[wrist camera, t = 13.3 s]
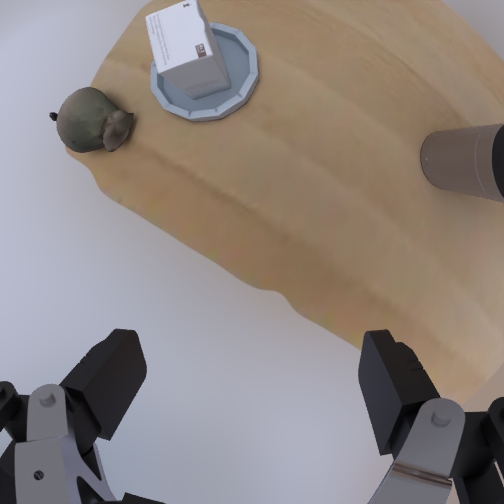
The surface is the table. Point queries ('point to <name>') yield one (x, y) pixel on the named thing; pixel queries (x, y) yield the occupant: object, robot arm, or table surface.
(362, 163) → the table surface
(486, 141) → the robot arm
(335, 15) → the table surface
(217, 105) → the bowl
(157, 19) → the skincare box
